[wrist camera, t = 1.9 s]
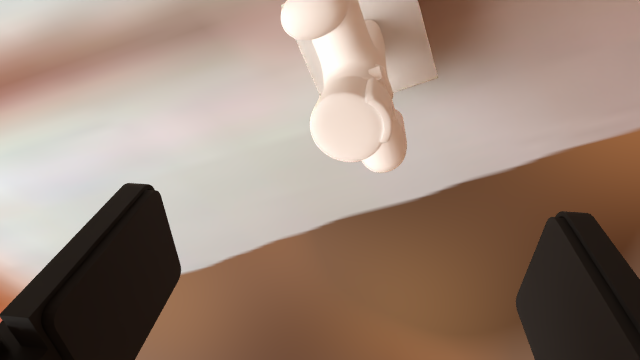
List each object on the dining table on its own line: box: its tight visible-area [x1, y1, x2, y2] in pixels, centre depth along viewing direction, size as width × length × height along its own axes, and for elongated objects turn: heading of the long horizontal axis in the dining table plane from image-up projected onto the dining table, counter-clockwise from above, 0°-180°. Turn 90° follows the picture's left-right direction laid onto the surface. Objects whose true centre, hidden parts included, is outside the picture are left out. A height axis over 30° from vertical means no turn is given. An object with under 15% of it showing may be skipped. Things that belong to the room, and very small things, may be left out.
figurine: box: [281, 0, 438, 173], centre depth 20 cm, size 7×9×15 cm
